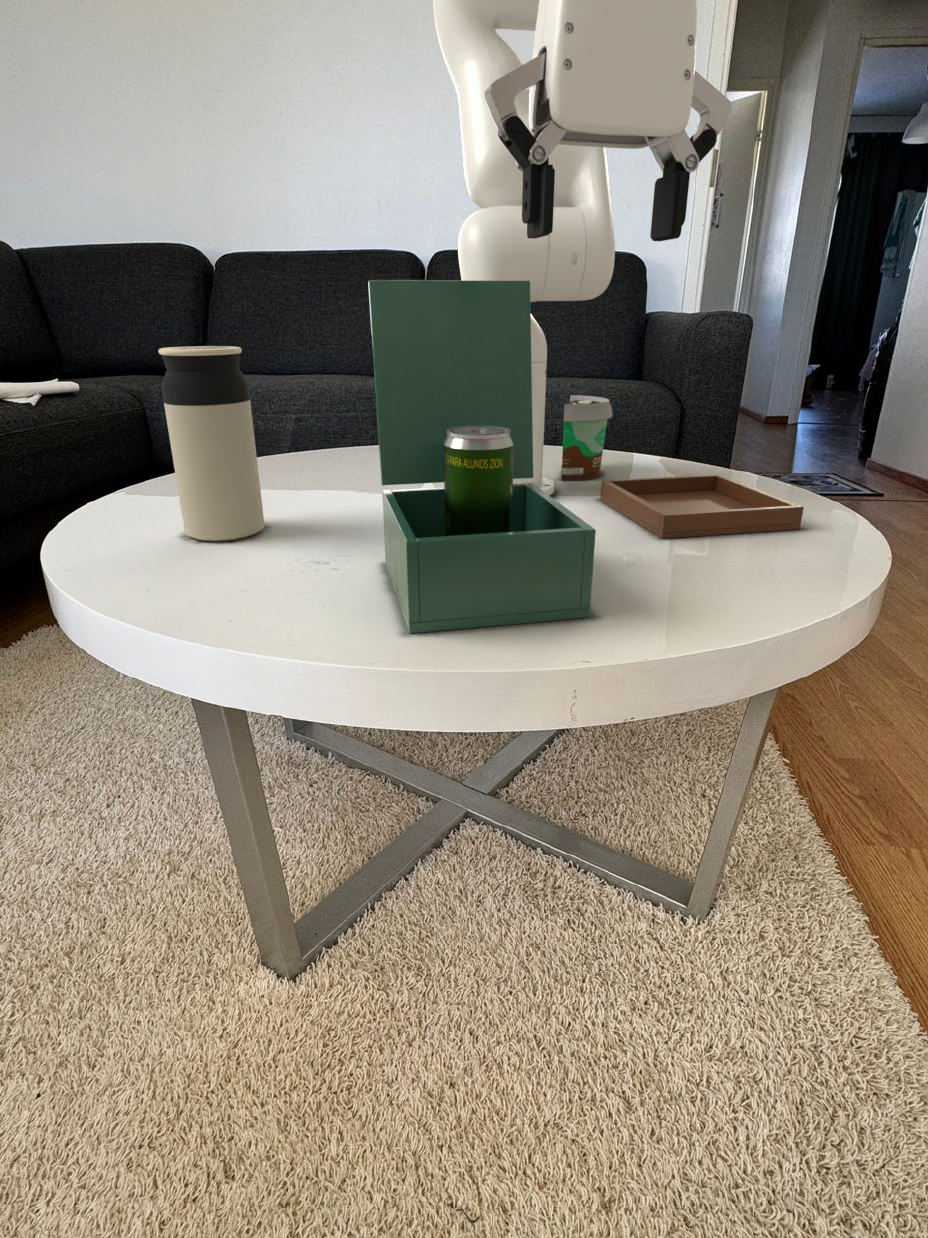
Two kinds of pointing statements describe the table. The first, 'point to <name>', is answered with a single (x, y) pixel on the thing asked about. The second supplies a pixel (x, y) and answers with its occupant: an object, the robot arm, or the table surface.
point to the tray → (699, 506)
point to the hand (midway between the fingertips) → (603, 237)
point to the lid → (449, 370)
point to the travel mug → (212, 442)
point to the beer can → (478, 480)
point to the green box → (487, 563)
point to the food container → (584, 436)
